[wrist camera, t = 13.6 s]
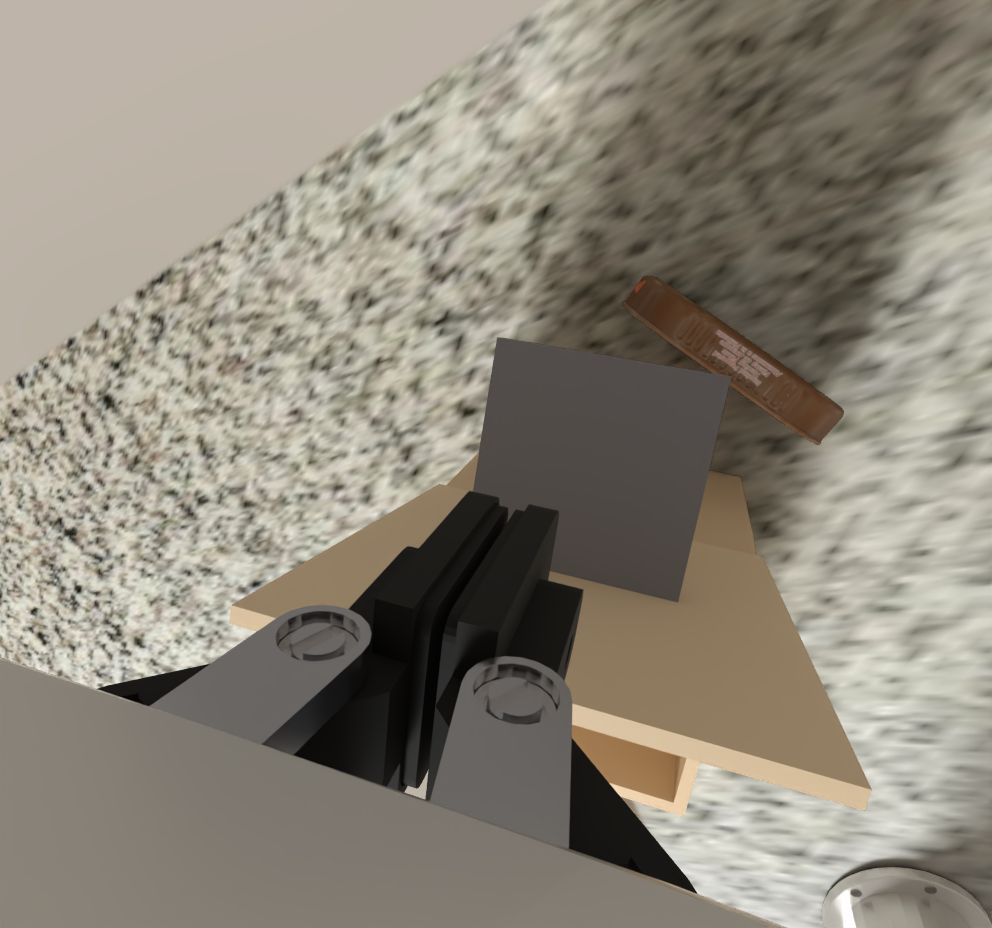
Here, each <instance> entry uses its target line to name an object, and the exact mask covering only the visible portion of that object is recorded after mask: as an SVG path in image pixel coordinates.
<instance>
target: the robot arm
mask: <svg viewBox="0 0 992 928" xmlns="http://www.w3.org/2000/svg"><path fill="white" fill-rule="evenodd" d="M558 520H559V511H558V510H553V509H549V508H544V507H540V506H535V505H531V504H529V505H528V506H527V508H526V510H525V511H522V510H517V509H516V510H515V511H514V513H513V514H512V516H511V517H510V519H509V521H508V507H504V506H500V500H499V498H498V497H495V496H491V495H486V494H482V493H477V492H473V491H469V492H467V494H466V495H465V496H464V497H463V498H462V499H461V500H460V502H459V503H458V504H457V505H456V506H455V507H454V508H453V510H452V511H451V512H450V513H449V514H448V515H447V516H446V517H445V519H444V520H443V521H442V522H441V523H440V524H439V525H438V527H437V528H436V529H435V530H434V531H433V532H432V533H431V535H430V536H429V537H428V538H427V539H426V540H425V541H424V543H423V544H422V545H421V546H420V547H419V548H415V547H411V546H407V547H406V548H404V549H403V550H402V551H401V552H400V553H399V554H398V556H397V557H396V558H395V559H394V560H393V561H392V562H391V563H390V564H389V565H388V566H387V567H386V569H385V570H384V571H383V572H382V573H381V574H380V575H379V576H378V577H377V578H376V579H375V580H374V582H373V583H372V584H371V585H370V586H369V587H368V588H367V589H366V590H365V591H364V592H363V594H362V595H361V596H360V597H359V598H358V599H357V600H356V601H355V602H354V603H353V604H352V605H351V607H350V608H349V609H345V608H341V607H338V606H328V605H315V606H305V607H302V608H298V609H295V610H291V611H289V612H287V613H285V614H283V615H281V616H279V617H277V618H276V619H274V620H273V621H272V622H270V623H269V624H267V625H266V626H264V627H263V628H261V629H260V630H259V631H257V632H256V633H254V634H253V635H251V636H250V637H249V638H247V639H246V640H244V641H243V642H241V643H240V644H238V645H237V646H236V647H234V648H233V649H231V650H230V651H228V652H227V653H225V654H224V655H223V656H221V657H220V658H218V659H217V660H215V661H214V662H212V663H211V664H207V665H203V666H198V667H193V668H188V669H184V670H179V671H174V672H170V673H165V674H160V675H155V676H151V677H146V678H141V679H137V680H132V681H127V682H122V683H118V684H113V685H108V686H105V687H102V688H98V689H95V688H92V687H89V686H86V685H83V684H79V683H76V682H73V681H70V680H67V679H64V678H61V677H58V676H55V675H52V674H49V673H46V672H43V671H40V670H37V669H34V668H31V667H28V666H25V665H22V664H19V663H16V662H13V661H10V660H7V659H4V658H1V657H0V928H786V927H784V926H781V925H778V924H776V923H773V922H770V921H768V920H765V919H762V918H760V917H757V916H754V915H752V914H749V913H746V912H744V911H741V910H739V909H736V908H733V907H731V906H728V905H725V904H723V903H720V902H717V901H715V900H712V899H709V898H707V897H704V896H701V895H699V894H697V892H696V891H695V889H694V887H693V886H692V884H691V883H690V881H689V880H688V878H687V877H686V876H685V875H684V874H683V872H682V871H681V870H680V869H679V867H678V866H677V865H676V864H675V863H674V861H673V860H672V859H671V858H670V856H669V855H668V854H667V853H666V852H665V850H664V849H663V848H662V847H661V846H660V844H659V843H658V842H657V841H656V839H655V838H654V837H653V836H652V835H651V833H650V832H649V831H648V830H647V829H646V827H645V826H644V825H643V824H642V822H641V821H640V820H639V819H638V818H637V816H636V815H635V814H634V813H633V811H632V810H631V809H630V808H629V807H628V805H627V804H626V803H625V802H624V801H623V799H622V798H621V797H620V796H619V794H618V793H617V792H616V791H615V790H614V788H613V787H612V786H611V785H610V783H609V782H608V781H607V780H606V779H605V777H604V776H603V775H602V774H601V773H600V771H599V770H598V769H597V768H596V766H595V765H594V764H593V763H592V762H591V760H590V759H589V758H588V757H587V756H586V754H585V753H584V752H583V751H582V749H581V748H580V747H579V746H578V745H577V743H576V742H575V741H574V740H573V738H572V703H573V702H572V697H571V692H570V689H569V688H568V686H567V685H566V683H565V678H566V674H567V670H568V666H569V662H570V658H571V654H572V649H573V645H574V640H575V635H576V630H577V625H578V620H579V615H580V610H581V605H582V599H583V592H584V589H580V588H576V587H572V586H568V585H564V584H560V583H556V582H552V581H548V579H549V573H550V567H551V562H552V556H553V550H554V544H555V538H556V532H557V526H558ZM507 521H508V522H507ZM428 769H429V772H428V782H427V791H426V800H425V799H422V798H419V797H416V796H413V795H410V794H407V793H404V792H405V790H406V788H407V786H411V787H414V788H419V786H420V785H421V783H422V781H423V779H424V777H425V775H426V773H427V771H428ZM822 922H823V927H824V928H992V924H991V922H990V919H989V917H988V915H987V913H986V912H985V910H984V909H983V907H982V906H981V904H980V903H979V902H978V901H977V900H976V899H975V898H974V897H973V896H972V895H971V894H970V893H968V892H967V891H965V890H964V889H963V888H961V887H960V886H958V885H957V884H955V883H953V882H951V881H949V880H947V879H945V878H943V877H940V876H937V875H934V874H931V873H929V872H925V871H920V870H916V869H911V868H900V867H883V868H874V869H869V870H864V871H861V872H858V873H855V874H853V875H850V876H848V877H846V878H845V879H843V880H842V881H840V882H838V883H837V884H836V885H835V886H834V887H833V888H832V889H831V890H830V891H829V893H828V895H827V896H826V898H825V900H824V903H823V907H822Z"/></svg>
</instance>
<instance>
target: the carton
mask: <svg viewBox="0 0 992 928" xmlns="http://www.w3.org/2000/svg"><path fill="white" fill-rule="evenodd" d="M478 456H479V453H478V454H477V455H476V456H475V457H474V458H473V459H472V460H471V461H470V462H469V463H468V464H467V465H466V466H465V467H464V468H463V469H462V470H461V471H460V472H459V473H458V474H457V475H456V476H455V477H454V478H453V479H452V480H451V481H450V482H449V483H448V484H447V485H446V486H450V487H455V488H459V489H464V490H468V491H473V487H474V481H475V475H476V468H477V462H478ZM693 541H695V542H699V543H704V544H708V545H713V546H717V547H722V548H726V549H731V550H735V551H740V552H744V553H748V554H753V555H757V552H756V548H755V543H754V538H753V533H752V528H751V524H750V519H749V514H748V509H747V504H746V500H745V495H744V490H743V485H742V480H741V477H739V476H734V475H729V474H724V473H719V472H714V471H709V474H708V478H707V482H706V486H705V490H704V495H703V499H702V503H701V507H700V512H699V516H698V520H697V524H696V529H695V533H694V537H693ZM572 738H573V740H574V741H575V742H576V743H577V745H578V746H579V747H580V748H581V749H582V751H583V752H584V753H585V754H586V756H587V757H588V758H589V759H590V760H591V762H592V763H593V764H594V765H595V766H596V768H597V769H598V770H599V771H600V773H601V774H602V775H603V776H604V777H605V779H606V780H607V781H608V782H609V783H610V785H611V786H612V787H613V788H614V790H615V791H616V792H617V793H618V794H619V796H620V797H624V798H627V799H630V800H633V801H636V802H639V803H643V804H646V805H649V806H652V807H655V808H659V809H662V810H665V811H668V812H671V813H674V814H678V815H681V816H684V814H685V811H686V808H687V804H688V801H689V798H690V794H691V791H692V788H693V784H694V781H695V778H696V775H697V771H698V768H699V765H700V762H697V761H694V760H691V759H687V758H684V757H681V756H677V755H674V754H670V753H667V752H664V751H660V750H657V749H653V748H650V747H647V746H643V745H640V744H637V743H633V742H630V741H626V740H623V739H620V738H616V737H613V736H609V735H606V734H603V733H599V732H596V731H593V730H589V729H586V728H582V727H579V726H576V725H572Z"/></svg>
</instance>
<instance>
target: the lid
mask: <svg viewBox="0 0 992 928" xmlns="http://www.w3.org/2000/svg"><path fill="white" fill-rule="evenodd" d="M730 380H731V377H730V376H725V375H719V374H713V373H708V372H702V371H696V370H690V369H684V368H678V367H672V366H666V365H660V364H654V363H649V362H643V361H637V360H631V359H625V358H619V357H613V356H607V355H601V354H596V353H590V352H584V351H578V350H572V349H566V348H560V347H554V346H548V345H543V344H537V343H531V342H525V341H519V340H513V339H507V338H498V337H497V343H496V349H495V355H494V361H493V368H492V374H491V380H490V387H489V393H488V399H487V405H486V412H485V418H484V424H483V431H482V437H481V443H480V449H479V456H478V462H477V468H476V475H475V481H474V487H473V492H477V493H482V494H486V495H491V496H495V497H498V498H499V500H500V506H504V507H508V521H509V519H510V517H511V516H512V514H513V513H514V511H515V510H516V509H517V510H522V511H525V510H526V508H527V506H528V505H529V504H531V505H535V506H540V507H544V508H549V509H553V510H558V511H559V520H558V526H557V532H556V538H555V544H554V550H553V556H552V562H551V567H550V573H549V579H548V581H552V582H556V583H560V584H564V585H568V586H572V587H576V588H580V589H584V592H583V599H582V605H581V610H580V615H579V620H578V625H577V630H576V635H575V640H574V645H573V649H572V654H571V658H570V662H569V666H568V670H567V674H566V678H565V683H566V685H567V686H568V688H569V689H570V692H571V697H572V702H573V703H572V725H576V726H579V727H582V728H586V729H589V730H593V731H596V732H599V733H603V734H606V735H609V736H613V737H616V738H620V739H623V740H626V741H630V742H633V743H637V744H640V745H643V746H647V747H650V748H653V749H657V750H660V751H664V752H667V753H670V754H674V755H677V756H681V757H684V758H687V759H691V760H694V761H697V762H701V763H704V764H708V765H711V766H714V767H718V768H721V769H725V770H728V771H731V772H735V773H738V774H742V775H745V776H748V777H752V778H755V779H758V780H762V781H765V782H769V783H772V784H775V785H779V786H782V787H786V788H789V789H792V790H796V791H799V792H802V793H806V794H809V795H813V796H816V797H819V798H823V799H826V800H830V801H833V802H836V803H840V804H843V805H846V806H850V807H853V808H857V809H860V810H863V811H865V809H866V806H867V803H868V800H869V797H870V794H871V791H872V789H871V787H870V785H869V783H868V781H867V779H866V777H865V774H864V772H863V770H862V768H861V766H860V764H859V762H858V760H857V757H856V755H855V753H854V751H853V749H852V747H851V745H850V742H849V740H848V738H847V736H846V734H845V732H844V730H843V728H842V725H841V723H840V721H839V719H838V717H837V715H836V713H835V710H834V708H833V706H832V704H831V702H830V700H829V698H828V696H827V693H826V691H825V689H824V687H823V685H822V683H821V681H820V678H819V676H818V674H817V672H816V670H815V668H814V666H813V664H812V661H811V659H810V657H809V655H808V653H807V651H806V649H805V646H804V644H803V642H802V640H801V638H800V636H799V634H798V632H797V629H796V627H795V625H794V623H793V621H792V619H791V617H790V614H789V612H788V610H787V608H786V606H785V604H784V602H783V599H782V597H781V595H780V593H779V591H778V589H777V587H776V585H775V582H774V580H773V578H772V576H771V574H770V572H769V570H768V567H767V565H766V563H765V561H764V559H763V557H762V556H757V555H753V554H748V553H744V552H740V551H735V550H731V549H726V548H722V547H717V546H713V545H708V544H704V543H699V542H695V541H693V537H694V533H695V529H696V524H697V520H698V516H699V512H700V507H701V503H702V499H703V495H704V490H705V486H706V482H707V478H708V474H709V469H710V465H711V461H712V457H713V452H714V448H715V444H716V440H717V435H718V431H719V427H720V423H721V418H722V414H723V410H724V406H725V401H726V397H727V393H728V389H729V385H730ZM467 492H469V491H468V490H464V489H459V488H455V487H450V486H446V485H441V484H439V485H437V486H435V487H433V488H432V489H430V490H428V491H427V492H425V493H423V494H421V495H420V496H418V497H416V498H415V499H413V500H411V501H409V502H408V503H406V504H404V505H403V506H401V507H399V508H397V509H396V510H394V511H392V512H391V513H389V514H387V515H385V516H384V517H382V518H380V519H379V520H377V521H375V522H373V523H372V524H370V525H368V526H367V527H365V528H363V529H361V530H360V531H358V532H356V533H355V534H353V535H351V536H349V537H348V538H346V539H344V540H343V541H341V542H339V543H337V544H336V545H334V546H332V547H331V548H329V549H327V550H325V551H324V552H322V553H320V554H319V555H317V556H315V557H313V558H312V559H310V560H308V561H307V562H305V563H303V564H301V565H300V566H298V567H296V568H294V569H293V570H291V571H289V572H288V573H286V574H284V575H282V576H281V577H279V578H277V579H276V580H274V581H272V582H270V583H269V584H267V585H265V586H264V587H262V588H260V589H258V590H257V591H255V592H253V593H252V594H250V595H248V596H246V597H245V598H243V599H241V600H240V601H238V602H236V603H234V604H233V605H231V615H230V624H234V625H237V626H240V627H244V628H247V629H250V630H254V631H259V630H260V629H261V628H263V627H264V626H266V625H267V624H269V623H270V622H272V621H273V620H274V619H276V618H277V617H279V616H281V615H283V614H285V613H287V612H289V611H291V610H295V609H298V608H302V607H305V606H315V605H328V606H338V607H341V608H345V609H349V608H350V607H351V605H352V604H353V603H354V602H355V601H356V600H357V599H358V598H359V597H360V596H361V595H362V594H363V592H364V591H365V590H366V589H367V588H368V587H369V586H370V585H371V584H372V583H373V582H374V580H375V579H376V578H377V577H378V576H379V575H380V574H381V573H382V572H383V571H384V570H385V569H386V567H387V566H388V565H389V564H390V563H391V562H392V561H393V560H394V559H395V558H396V557H397V556H398V554H399V553H400V552H401V551H402V550H403V549H404V548H406V547H407V546H411V547H415V548H419V547H420V546H421V545H422V544H423V543H424V541H425V540H426V539H427V538H428V537H429V536H430V535H431V533H432V532H433V531H434V530H435V529H436V528H437V527H438V525H439V524H440V523H441V522H442V521H443V520H444V519H445V517H446V516H447V515H448V514H449V513H450V512H451V511H452V510H453V508H454V507H455V506H456V505H457V504H458V503H459V502H460V500H461V499H462V498H463V497H464V496H465V495H466V494H467ZM508 521H507V522H508Z"/></svg>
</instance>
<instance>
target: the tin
mask: <svg viewBox="0 0 992 928" xmlns="http://www.w3.org/2000/svg"><path fill="white" fill-rule="evenodd" d="M622 305H623V307H625V308H626V310H628V311H629V312H630V313H631V314H632V315H633V316H635V317H636V318H637V319H639V320H640V321H641V322H642V323H644V324H645V325H646V326H648V327H649V328H650V329H651V330H653V331H654V332H655V333H657V334H658V335H660V336H661V337H662V338H664V339H665V340H666V341H668V342H669V343H670V344H672V345H673V346H675V347H676V348H677V349H679V350H680V351H682V352H683V353H684V354H686V355H687V356H689V357H690V358H691V359H693V360H694V361H696V362H697V363H698V364H700V365H701V366H703V367H704V368H705V369H707V370H708V371H710V372H711V373H713V374H719V375H725V376H730V377H731V380H730V385H729V386H731V387H732V388H734V389H735V390H737V391H738V392H739V393H741V394H742V395H744V396H745V397H746V398H748V399H749V400H751V401H752V402H753V403H755V404H756V405H758V406H759V407H760V408H762V409H763V410H765V411H766V412H767V413H769V414H770V415H772V416H773V417H774V418H776V419H777V420H779V421H780V422H781V423H783V424H784V425H786V426H787V427H789V428H790V429H792V430H793V431H795V432H796V433H797V434H799V435H801V436H803V437H804V438H806V439H807V440H809V441H810V442H812V443H814V444H816V445H820V443H821V440H822V439H823V438H824V437H825V436H826V435H827V434H828V432H829V431H830V430H831V429H832V428H833V427H834V426H835V425H836V424H837V423H838V422H839V420H840V419H841V418H842V416H843V414H844V411H843V409H842V408H841V407H840V406H839V405H838V404H836V403H835V402H834V401H832V400H831V399H830V398H828V397H827V396H825V395H824V394H823V393H821V392H820V391H818V390H817V389H816V388H814V387H813V386H811V385H810V384H809V383H807V382H806V381H805V380H803V379H802V378H800V377H799V376H798V375H796V374H795V373H793V372H792V371H791V370H789V369H788V368H787V367H785V366H784V365H782V364H781V363H780V362H778V361H777V360H775V359H774V358H773V357H771V356H770V355H769V354H767V353H766V352H764V351H763V350H762V349H760V348H759V347H757V346H756V345H755V344H753V343H752V342H750V341H749V340H748V339H746V338H745V337H743V336H742V335H740V334H739V333H737V332H736V331H735V330H733V329H732V328H730V327H729V326H727V325H726V324H724V323H723V322H721V321H720V320H718V319H717V318H716V317H714V316H713V315H711V314H710V313H708V312H707V311H705V310H704V309H702V308H701V307H700V306H698V305H697V304H695V303H694V302H692V301H691V300H689V299H688V298H686V297H685V296H684V295H682V294H681V293H679V292H678V291H676V290H675V289H674V288H672V287H671V286H669V285H668V284H666V283H664V282H663V281H661V280H660V279H658V278H656V277H653V276H644V277H643V278H642V279H641V280H640V282H639V283H638V284H637V286H636V287H635V289H634V290H633V292H632V293H631V294H630V296H629V297H628V299H627V300H626V301H623V303H622Z"/></svg>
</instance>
